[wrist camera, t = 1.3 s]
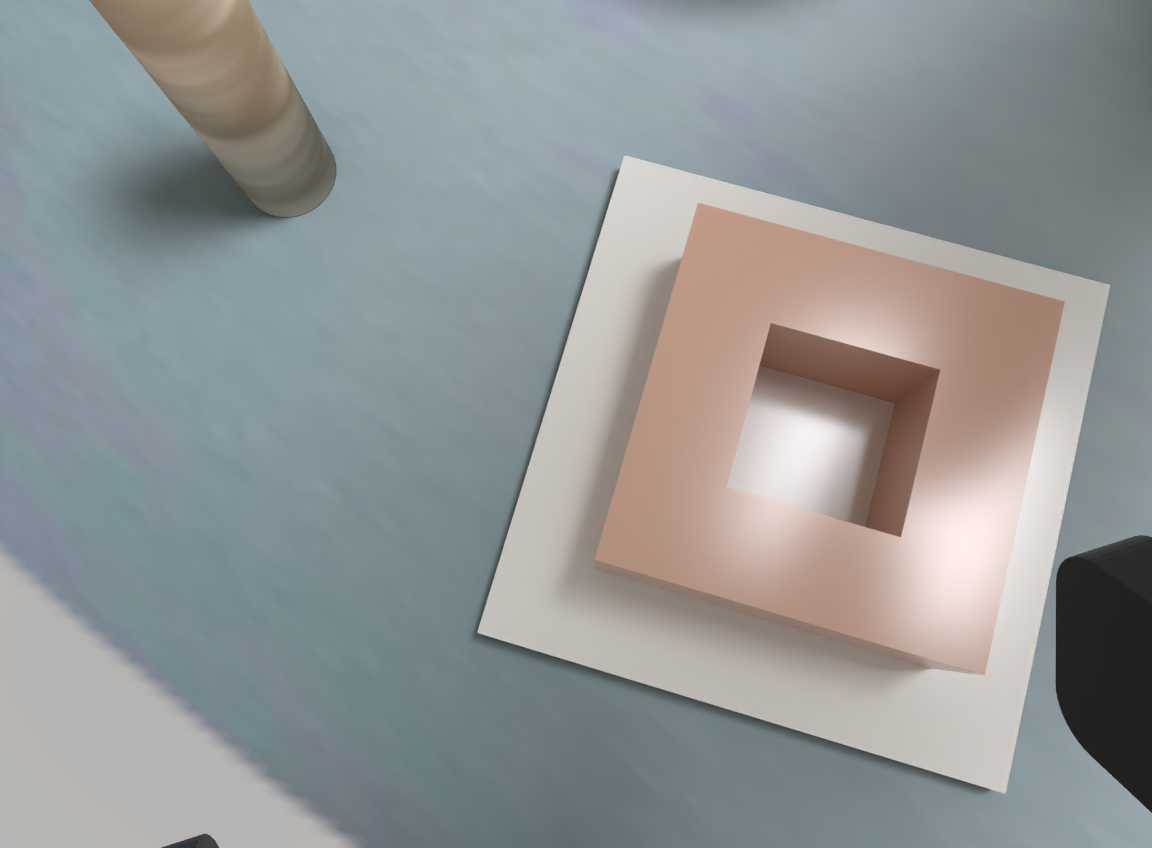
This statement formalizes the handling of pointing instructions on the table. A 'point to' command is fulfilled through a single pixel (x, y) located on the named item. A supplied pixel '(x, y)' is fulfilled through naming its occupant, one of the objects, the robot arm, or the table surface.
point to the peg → (231, 95)
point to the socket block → (804, 470)
